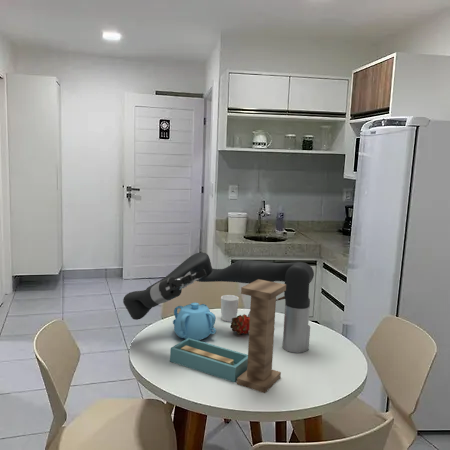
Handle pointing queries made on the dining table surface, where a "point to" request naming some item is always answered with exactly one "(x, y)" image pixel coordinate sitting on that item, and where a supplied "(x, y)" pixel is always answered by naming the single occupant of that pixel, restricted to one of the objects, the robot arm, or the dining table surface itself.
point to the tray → (209, 364)
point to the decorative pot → (194, 321)
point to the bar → (208, 355)
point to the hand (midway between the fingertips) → (198, 274)
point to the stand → (261, 335)
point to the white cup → (229, 307)
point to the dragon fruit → (240, 324)
